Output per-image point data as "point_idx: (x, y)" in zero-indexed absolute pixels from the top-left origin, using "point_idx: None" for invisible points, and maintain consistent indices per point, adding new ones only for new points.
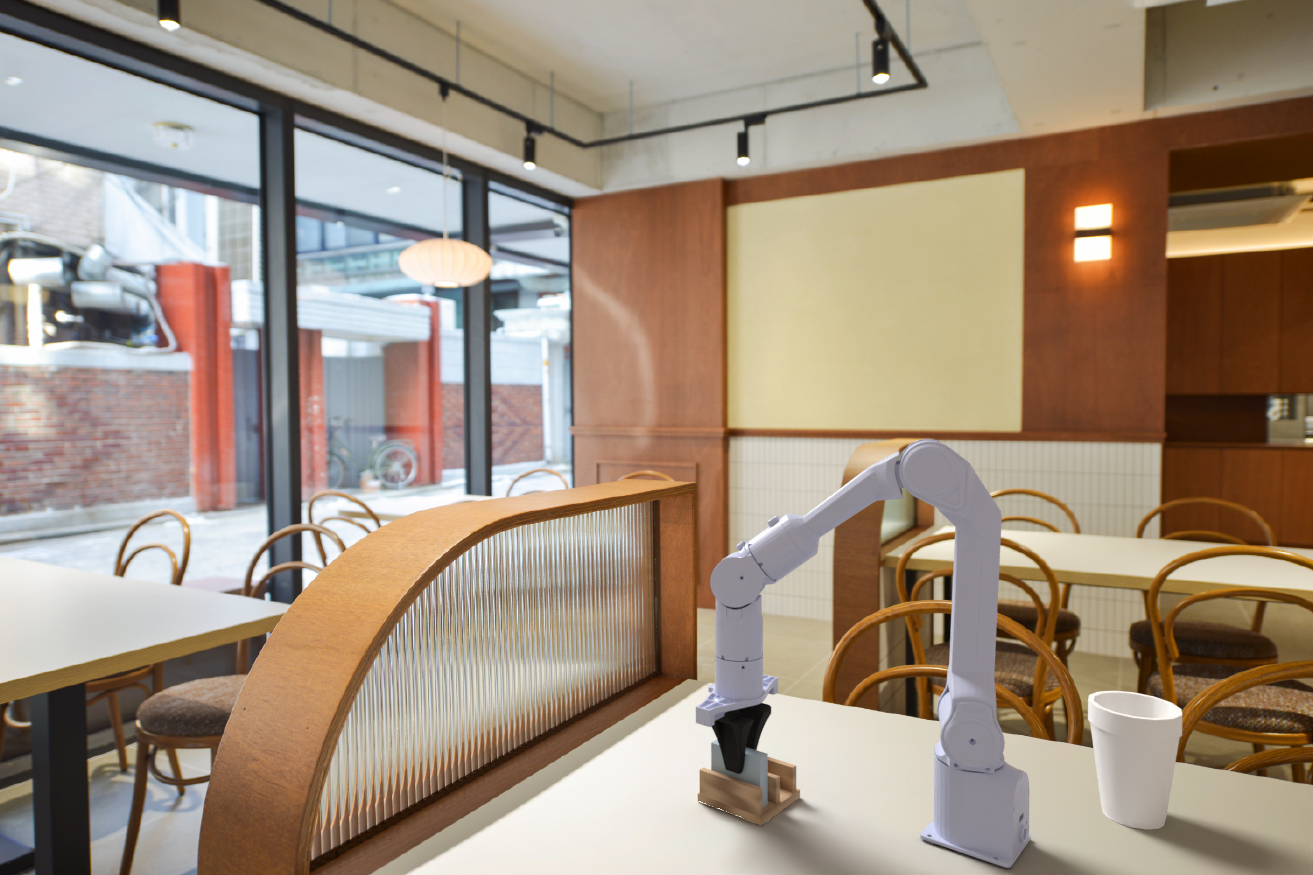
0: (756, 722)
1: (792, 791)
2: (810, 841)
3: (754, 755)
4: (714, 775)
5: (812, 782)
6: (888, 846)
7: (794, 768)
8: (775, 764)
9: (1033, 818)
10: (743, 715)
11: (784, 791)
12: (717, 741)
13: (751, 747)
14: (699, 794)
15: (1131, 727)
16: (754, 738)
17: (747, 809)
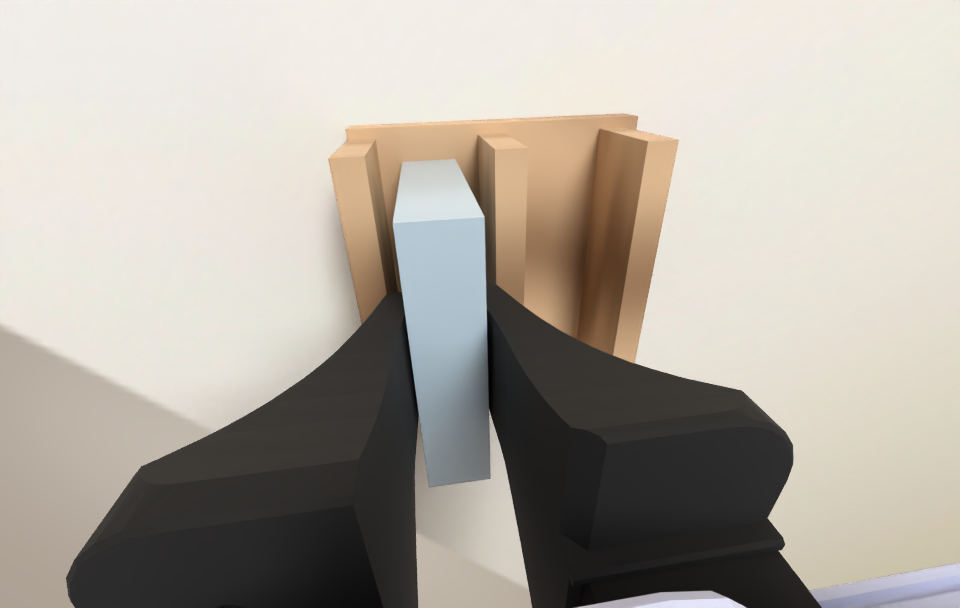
0: (531, 572)
1: None
2: (420, 456)
3: (435, 460)
4: (348, 248)
5: (695, 312)
6: (508, 528)
7: None
8: (611, 336)
9: None
10: (538, 535)
11: (566, 332)
12: (440, 239)
13: (493, 415)
14: (347, 139)
15: None
16: (507, 467)
17: None
